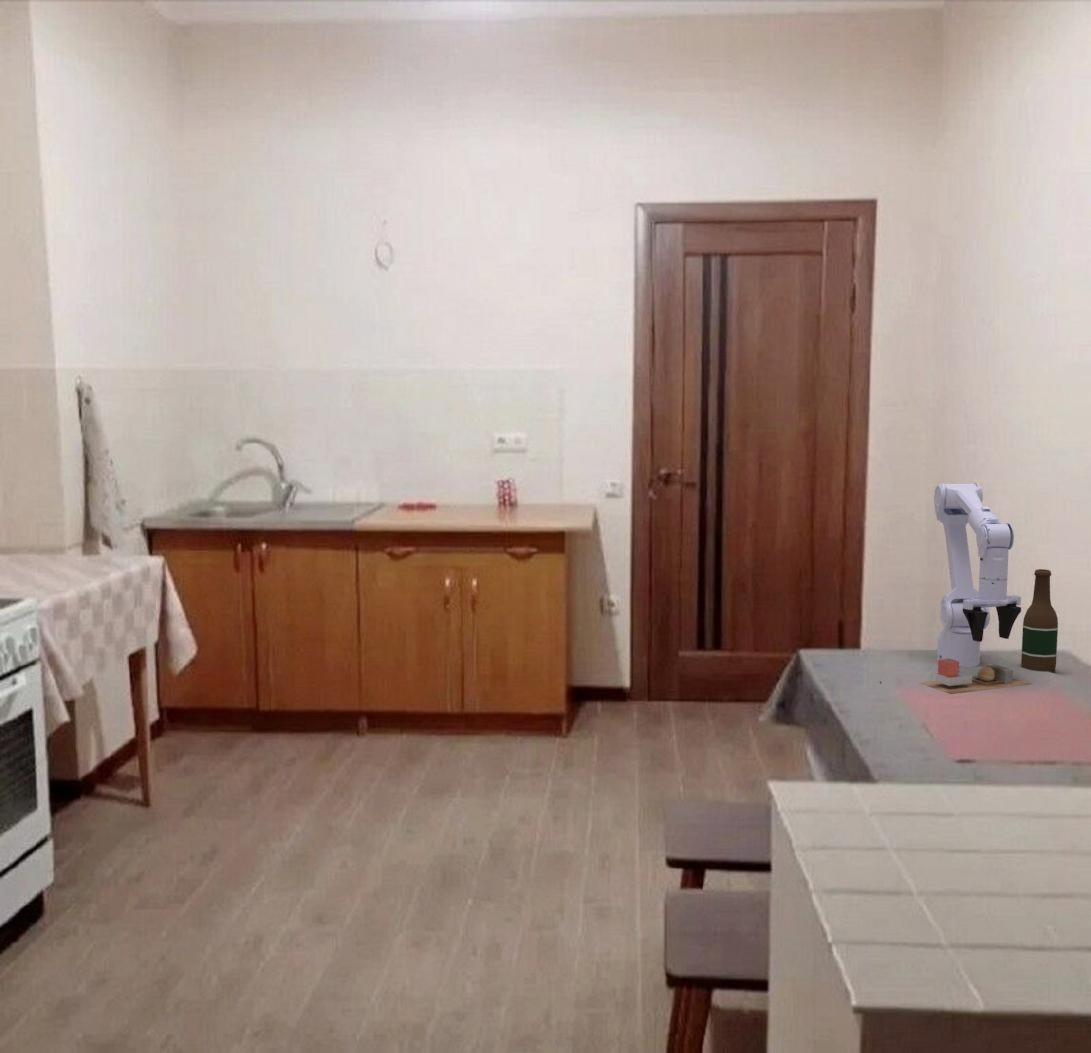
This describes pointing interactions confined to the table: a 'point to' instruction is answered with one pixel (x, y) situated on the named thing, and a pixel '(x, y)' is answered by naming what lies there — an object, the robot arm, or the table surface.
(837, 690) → the table surface
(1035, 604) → the beer bottle
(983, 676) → the walnut
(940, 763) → the table surface
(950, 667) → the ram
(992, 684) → the wooden puzzle board
